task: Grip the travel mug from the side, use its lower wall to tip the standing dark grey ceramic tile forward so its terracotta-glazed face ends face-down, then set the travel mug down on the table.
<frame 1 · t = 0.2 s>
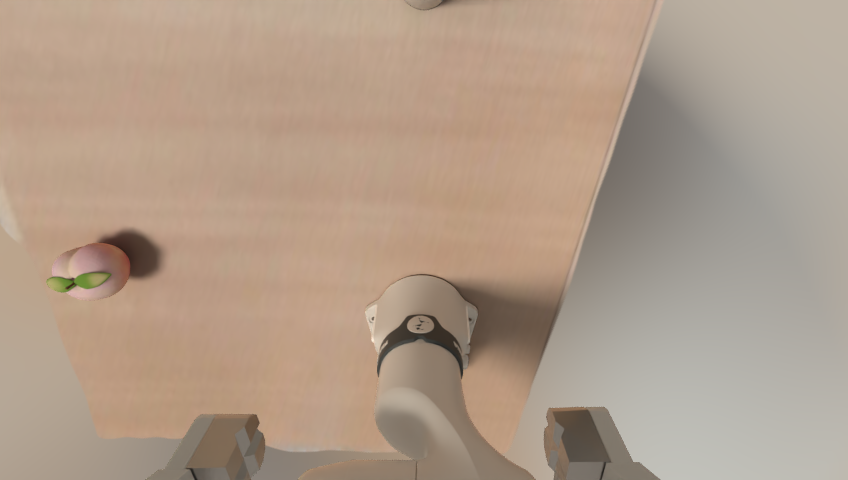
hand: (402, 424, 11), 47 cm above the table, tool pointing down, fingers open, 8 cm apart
decorative fruit: (119, 255, 64), on the table
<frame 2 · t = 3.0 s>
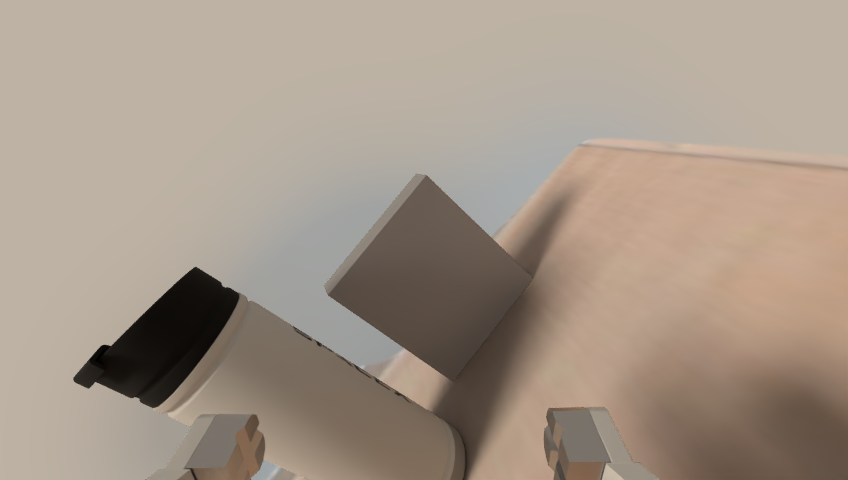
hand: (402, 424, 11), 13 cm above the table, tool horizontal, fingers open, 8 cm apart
travel mug: (433, 476, 26), on the table
tile: (487, 324, 32), on the table
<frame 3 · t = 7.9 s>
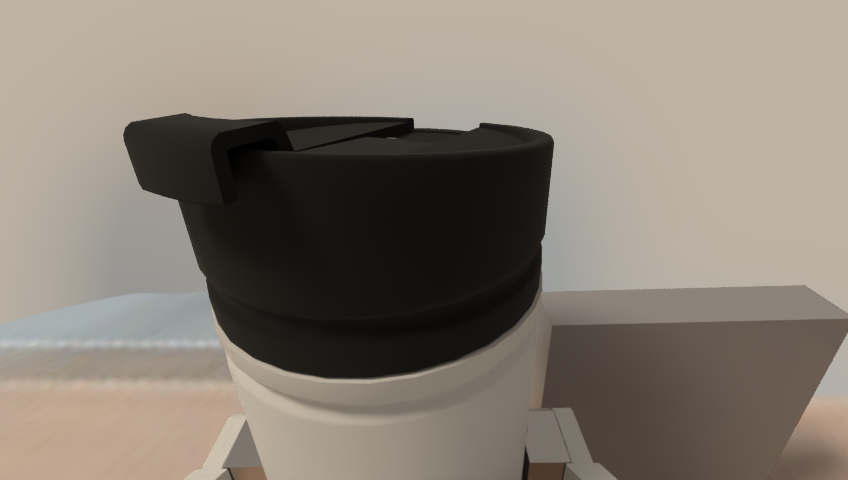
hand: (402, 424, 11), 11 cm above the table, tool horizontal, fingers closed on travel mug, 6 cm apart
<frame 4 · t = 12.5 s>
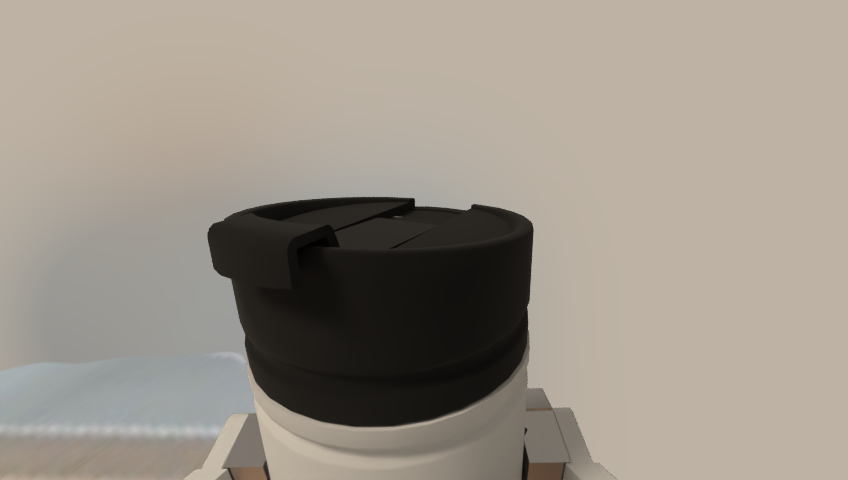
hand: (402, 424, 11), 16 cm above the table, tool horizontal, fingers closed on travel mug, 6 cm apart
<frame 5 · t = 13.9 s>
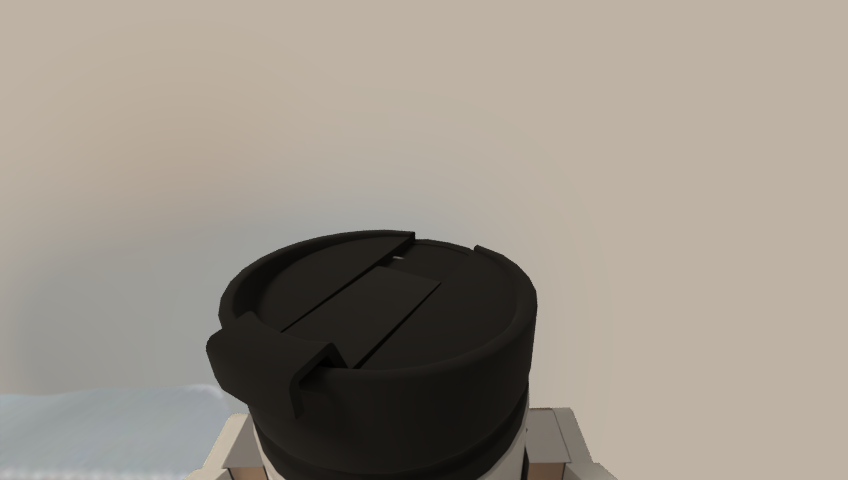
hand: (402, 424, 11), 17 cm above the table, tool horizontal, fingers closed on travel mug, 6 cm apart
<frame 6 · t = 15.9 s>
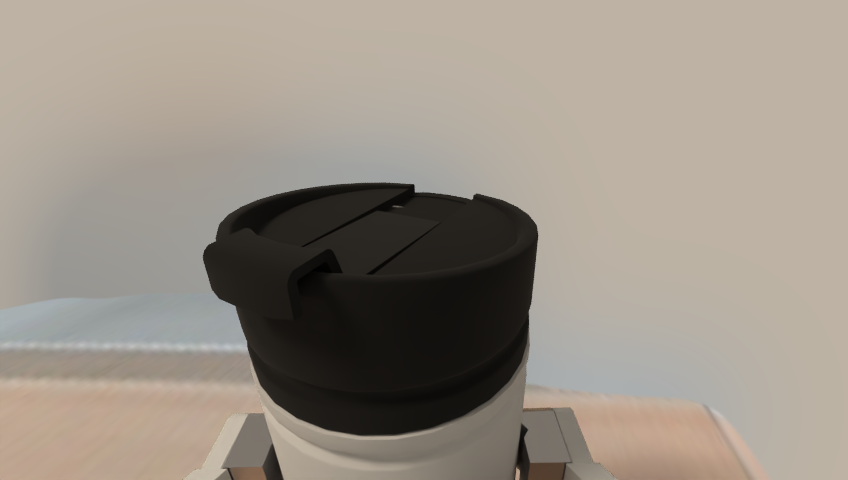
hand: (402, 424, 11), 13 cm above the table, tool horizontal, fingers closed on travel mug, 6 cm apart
when the fingers open (12 cm above the table, at t = 16.6 s): travel mug stays where it is, on the table.
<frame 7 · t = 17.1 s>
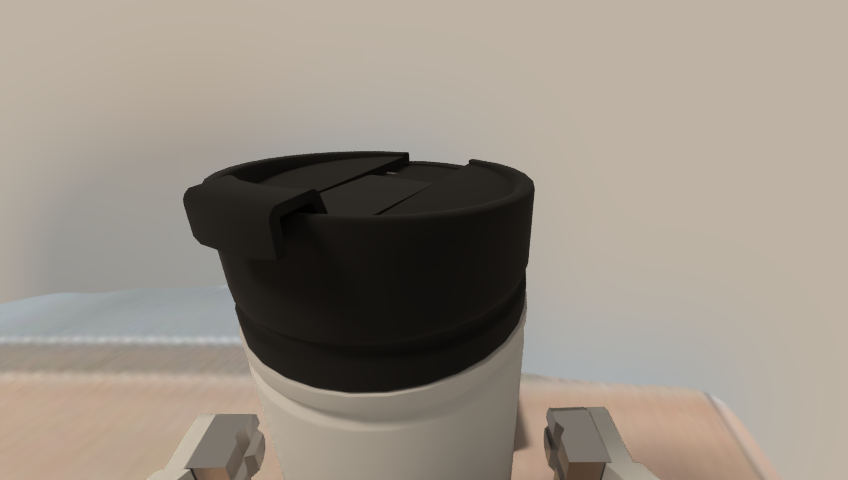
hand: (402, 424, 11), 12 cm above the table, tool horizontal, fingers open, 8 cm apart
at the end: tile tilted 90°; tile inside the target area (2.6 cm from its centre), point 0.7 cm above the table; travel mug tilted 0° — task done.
